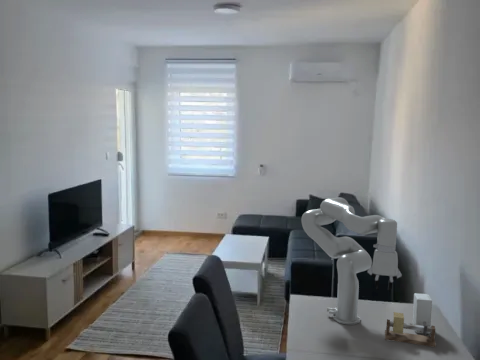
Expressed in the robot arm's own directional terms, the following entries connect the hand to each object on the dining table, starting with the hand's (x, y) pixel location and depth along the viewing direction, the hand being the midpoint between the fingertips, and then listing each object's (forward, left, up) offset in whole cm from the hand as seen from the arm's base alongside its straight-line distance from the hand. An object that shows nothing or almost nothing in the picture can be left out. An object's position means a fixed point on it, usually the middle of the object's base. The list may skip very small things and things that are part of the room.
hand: (383, 288), depth 192 cm
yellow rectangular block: (+7, 0, -18) cm, 19 cm away
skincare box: (+18, +12, -22) cm, 30 cm away
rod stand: (+12, 0, -21) cm, 24 cm away
